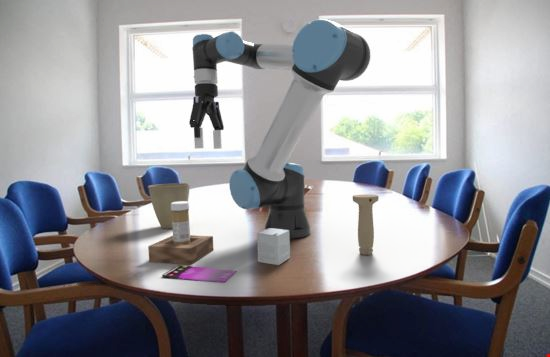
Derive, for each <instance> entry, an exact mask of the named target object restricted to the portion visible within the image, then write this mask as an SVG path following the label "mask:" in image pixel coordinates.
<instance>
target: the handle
mask: <svg viewBox="0 0 550 357" xmlns="http://www.w3.org/2000/svg"><path fill="white" fill-rule="evenodd" d="M352 201H353V203H355V204H357V205H358V221H357V239H358V240H357V242H358V247H359V248H358V251H359V254H361V255H363V256H365V255H366V256H370V255H372V254H373V252H374V248H373V247H374V239H375V228H374V226H375V225H374V216H373V215H374V214H373V207H374V204H375V203H377V202H378V201H379V195H377V194H371V193H369V194H355V195H352Z"/></svg>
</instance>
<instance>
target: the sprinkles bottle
mask: <svg viewBox="0 0 550 357" xmlns="http://www.w3.org/2000/svg"><path fill="white" fill-rule="evenodd" d="M189 209H190V203H189V201H188V202H187V201H178V202H173V203H171V210H172V227H173V228H172V236H173V241H174V244H177V245H188V244H190V235H191V228H190V216H189V213H190V210H189Z"/></svg>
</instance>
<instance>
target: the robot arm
mask: <svg viewBox="0 0 550 357" xmlns="http://www.w3.org/2000/svg"><path fill="white" fill-rule="evenodd" d="M191 49H192V57H193V58H192V59H193V60H192V61H193V78H194V79H193V80H194V84H195V85H194V96H193V98H192V99H193V101H192V102H193V104H192V108H191V113H190V117H189V123H188V124H189V126H190V128H192V129H193V136H194V137H193V138H194V140H193V141H194V149H205V148H204V129H203V128H204V127H202V125H203V122H204V120H205V117H206V115H207V116H208V117H209V119H210V122H211V125H212V127H213V130H212V134H213V135H212V137H213V138H212V139H213V149H214V150H218V149H221V150H222V131H224V128H225V127H224V123H223V118H222V114H221V109H220V104H219V103H220V102H219V101H215V98H218V96H219V90H218V85H217V84H218V81H219V80H218V69H217V68H218V66H217V64H221V63H223V62H227V63H232V64H236V65H240V66H245V67H248V68H253V69H255V70H266V69H269V70H281V71H282V70H284V71H291V72H292V76H293V79H292V81H291V84H290V86H289V88H288V89H287V91H286V94H285V96H284V98H283V100H282V102H281V103H280V106H279V107H278V110H277V111H276V114H275V115H274V118H273V120H272V122H271V124H270V126H269V128H268V130H267V132H266V135H264V138H263V140H262V142H261V145H260V147H259V148H258V151H257V153H256V154H255V155H251V156H249V157H248V159H247V160H246V163H245V165H244V167H243V168H238V169H236V170H234V171H233V172H232V174H231V175H230V178H229V192H230V195H231V198H232V199H233V201H234V203H235V204H236V205H237V207H239V208H241V209H243V210H256V209H260V208H264V207H268V214H267V217H266V221H265V225H264V228H263V229H264V230H266V229H269V228H275V229H283V230H289V237H290V240H291V239H300V238H304V237H307V236H309V235H310V234H311V224H310V221H309V218H308V216H307V213H306V209H305V207H306V206H305V172H304V167H303V166H302V165H301V164H298V163H293V162H288V161H289V160H290V157H291V155H292V153H293V152H294V150H295V148H296V147H297V145H298V143H299V141H300V140H301V138H302V135H303V134H304V132H305V130H306V128H307V126H308V124H309V123H310V121H311V120H312V117H313V116H314V114H315V113H316V110H317V109H318V107H319V104H320V103H321V101H322V99H323V97H324V96H325V95H326V94H329V93H332V92H334V90H335V88H336V87H337V85H338V83H339V82H340V81H343V82H347V81H348V82H349V81H354V80H355V79H358V78H359V77H360V76H362V75H363V74H364V73H365V72H366V70H367V69H368V67H369V64H370V61H371V49H370V46H369V44H368V42H367V41H366V39H365V38H364V37H363V36H361V35H360V34H358V33H356V32H354V31H352V30H351V29H349V28H346V27H345V26H343V25H341V24H340V23H338V22H335V21H331V20H328V19H324V18H321V19H320V18H319V19H314V20H313V21H310V22H308V23H306V24H305V25H304V26H302V28H301V29H299V31H298V33H297V34H296V36H295V38H294V41H293V42H292V44H290V43H289V44H287V43H286V44H284V43H282V44H280V43H279V44H278V43H277V44H276V43H252V42H249V41H246V40H244V39H243V38H242V36H241V35H240V34H239V33H238V32H236V31H227V32H223V33H222V34H219V35H217V36H213V35H212V34H207V33H201V34H195V36H193V38H192V48H191ZM264 230H263V231H264Z"/></svg>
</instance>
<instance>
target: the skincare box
mask: <svg viewBox="0 0 550 357" xmlns="http://www.w3.org/2000/svg"><path fill="white" fill-rule="evenodd" d="M256 240H257V244H256V245H257V246H256V247H257V262H258V263H264V264H270V265H275V266H280V265H281V264H283V263H285V262H286V261H287V260H289V259H290V258H291V244H290V240H291V239H290V237H289V230H283V229H275V228H269V229H266V230H261V231H259V232H257V233H256Z"/></svg>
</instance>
